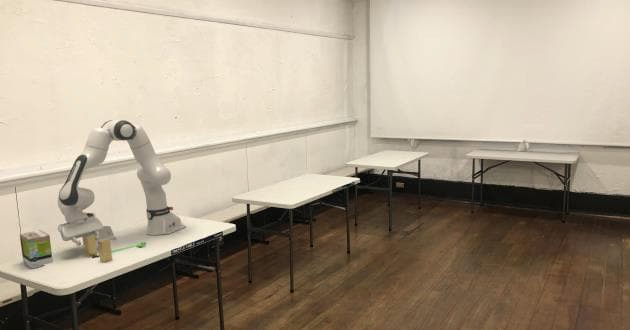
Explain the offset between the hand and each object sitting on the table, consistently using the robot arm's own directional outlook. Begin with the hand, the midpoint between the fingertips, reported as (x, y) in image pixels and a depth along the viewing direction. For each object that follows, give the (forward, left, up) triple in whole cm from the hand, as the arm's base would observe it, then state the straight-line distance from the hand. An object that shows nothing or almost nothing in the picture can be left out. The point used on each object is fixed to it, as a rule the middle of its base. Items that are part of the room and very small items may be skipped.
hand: (88, 242), depth 254 cm
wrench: (-14, +6, -8) cm, 18 cm away
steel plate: (0, +9, -8) cm, 12 cm away
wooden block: (0, +1, -7) cm, 7 cm away
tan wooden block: (0, +15, -7) cm, 16 cm away
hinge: (-15, -19, -8) cm, 26 cm away
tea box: (+19, -15, -8) cm, 25 cm away
